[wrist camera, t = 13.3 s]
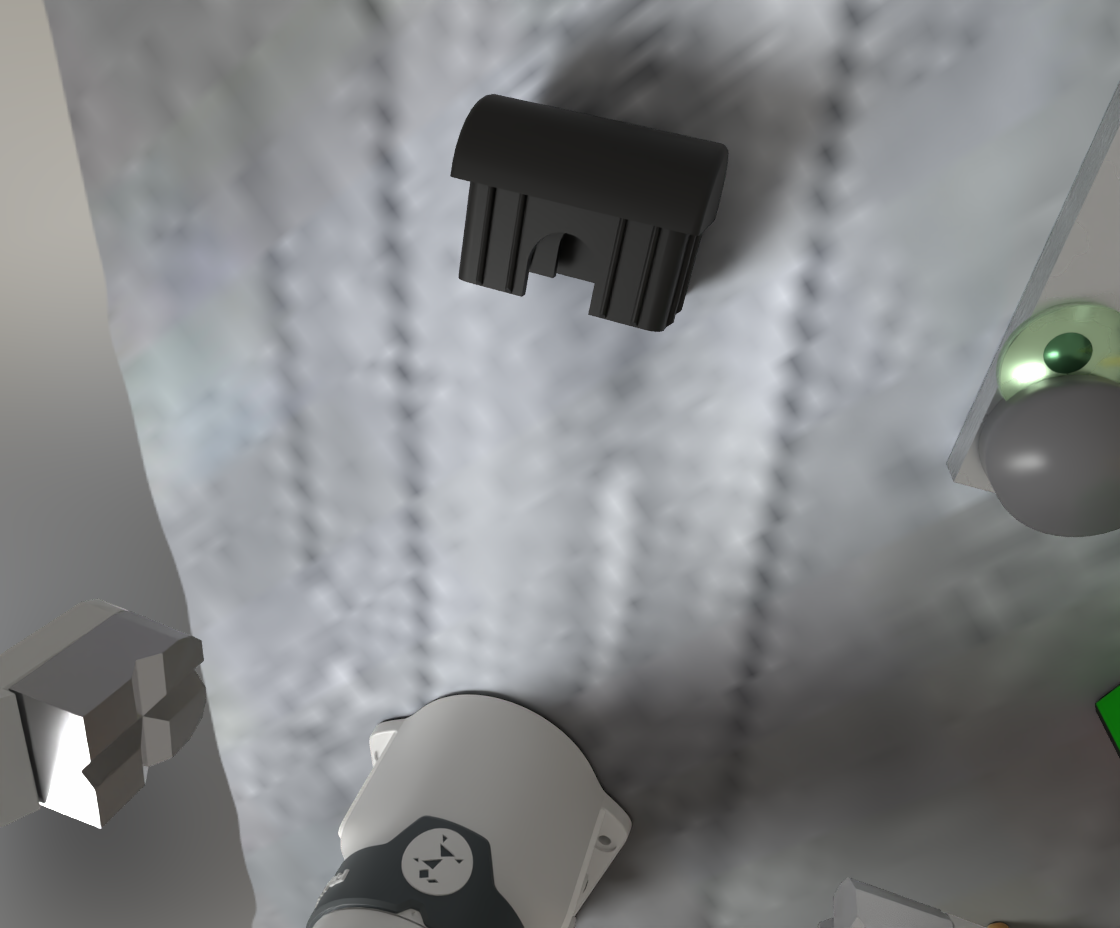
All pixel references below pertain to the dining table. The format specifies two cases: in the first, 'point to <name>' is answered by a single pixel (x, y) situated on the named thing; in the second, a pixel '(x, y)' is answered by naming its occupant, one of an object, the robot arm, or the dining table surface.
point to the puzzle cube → (1111, 716)
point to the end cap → (585, 205)
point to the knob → (1057, 455)
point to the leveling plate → (1061, 300)
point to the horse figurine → (997, 925)
